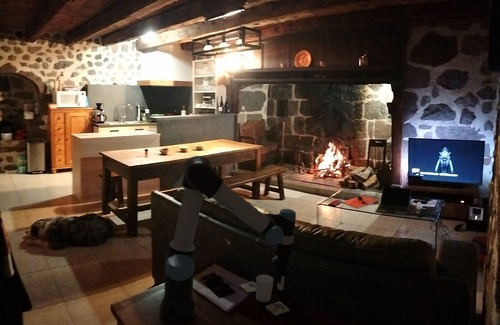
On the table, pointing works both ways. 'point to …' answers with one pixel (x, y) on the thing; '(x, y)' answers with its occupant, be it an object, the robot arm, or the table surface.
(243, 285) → the placard
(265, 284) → the white cup
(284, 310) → the placard
